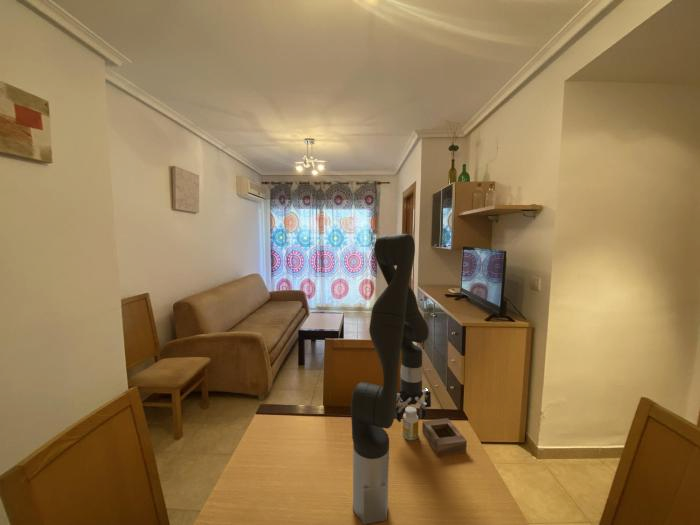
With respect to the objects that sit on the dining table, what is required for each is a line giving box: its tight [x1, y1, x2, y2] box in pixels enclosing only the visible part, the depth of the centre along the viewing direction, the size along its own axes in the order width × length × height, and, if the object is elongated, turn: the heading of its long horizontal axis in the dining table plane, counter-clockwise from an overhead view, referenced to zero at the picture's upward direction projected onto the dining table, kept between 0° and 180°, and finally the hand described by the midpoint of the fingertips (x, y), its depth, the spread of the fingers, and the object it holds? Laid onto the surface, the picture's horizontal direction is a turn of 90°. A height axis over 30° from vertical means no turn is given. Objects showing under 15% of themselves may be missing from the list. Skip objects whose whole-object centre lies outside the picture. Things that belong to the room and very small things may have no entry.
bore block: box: [421, 417, 467, 457], centre depth 103 cm, size 12×10×4 cm
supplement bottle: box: [402, 406, 419, 441], centre depth 105 cm, size 5×5×10 cm
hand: (410, 419), depth 106 cm, fingers open, 8 cm apart
